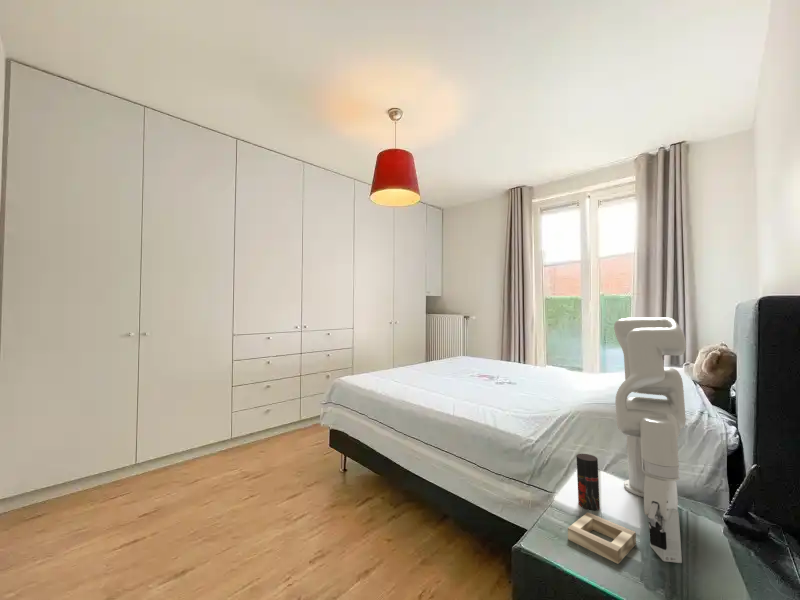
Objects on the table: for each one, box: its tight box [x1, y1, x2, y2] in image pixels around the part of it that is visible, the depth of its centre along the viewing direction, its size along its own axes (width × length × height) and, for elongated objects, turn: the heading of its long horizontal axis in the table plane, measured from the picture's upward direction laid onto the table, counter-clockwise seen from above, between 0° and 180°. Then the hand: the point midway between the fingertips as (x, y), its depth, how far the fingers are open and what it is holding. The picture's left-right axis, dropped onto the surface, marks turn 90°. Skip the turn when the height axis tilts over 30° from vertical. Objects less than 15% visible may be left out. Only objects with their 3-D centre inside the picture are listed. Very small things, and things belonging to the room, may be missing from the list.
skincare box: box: [648, 508, 683, 564], centre depth 85 cm, size 6×4×12 cm
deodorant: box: [576, 453, 601, 512], centre depth 108 cm, size 6×6×15 cm
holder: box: [567, 512, 637, 565], centre depth 90 cm, size 12×12×3 cm
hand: (664, 538), depth 85 cm, fingers open, 9 cm apart
